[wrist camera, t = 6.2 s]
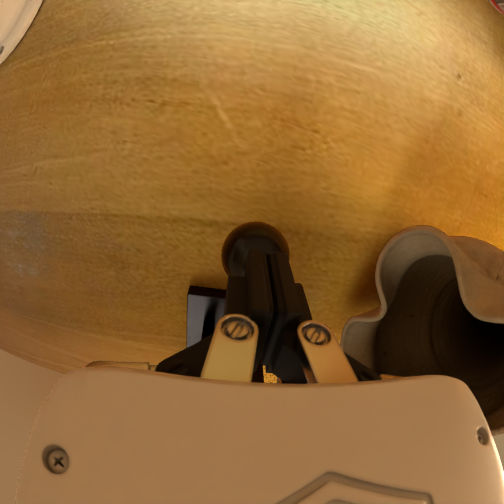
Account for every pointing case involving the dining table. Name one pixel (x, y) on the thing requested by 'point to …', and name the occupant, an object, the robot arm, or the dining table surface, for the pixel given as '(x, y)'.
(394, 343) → the vase
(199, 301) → the bracket
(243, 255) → the lever
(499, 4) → the pill bottle
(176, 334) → the dining table surface
